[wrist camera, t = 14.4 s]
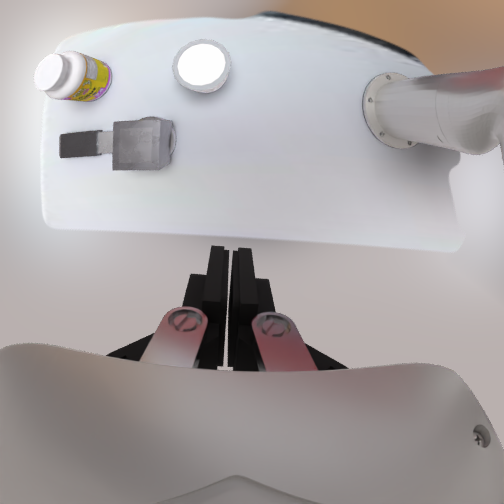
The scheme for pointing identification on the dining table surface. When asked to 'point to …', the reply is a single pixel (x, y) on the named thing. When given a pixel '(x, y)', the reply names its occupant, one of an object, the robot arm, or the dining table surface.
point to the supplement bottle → (72, 77)
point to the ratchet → (95, 142)
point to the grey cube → (141, 144)
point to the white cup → (202, 65)
